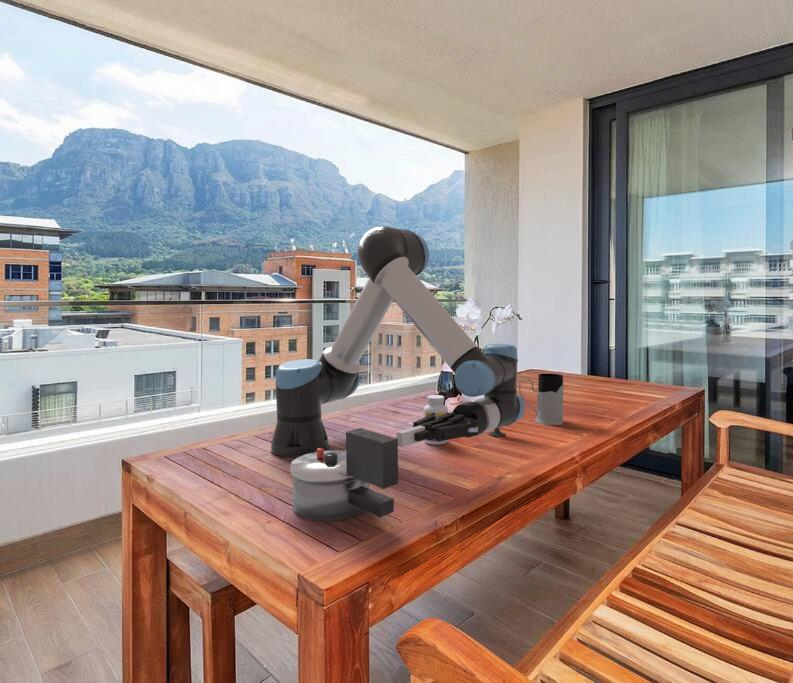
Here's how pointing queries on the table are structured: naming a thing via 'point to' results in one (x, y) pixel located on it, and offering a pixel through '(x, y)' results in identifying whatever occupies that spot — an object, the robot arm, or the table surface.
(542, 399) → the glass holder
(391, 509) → the pot
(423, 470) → the table surface
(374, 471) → the lid
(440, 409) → the supplement bottle
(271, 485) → the table surface
